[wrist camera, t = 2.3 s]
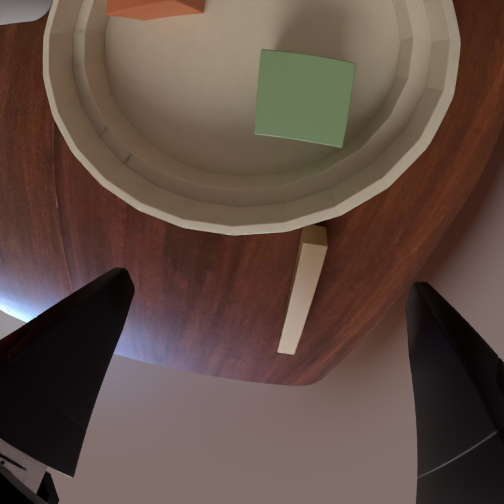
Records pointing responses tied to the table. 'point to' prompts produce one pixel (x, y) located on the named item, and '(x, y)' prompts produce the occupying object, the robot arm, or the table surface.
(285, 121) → the sage block
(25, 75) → the table surface
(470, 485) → the robot arm
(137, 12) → the terracotta block
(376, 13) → the bowl
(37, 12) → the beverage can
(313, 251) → the long tan beam
